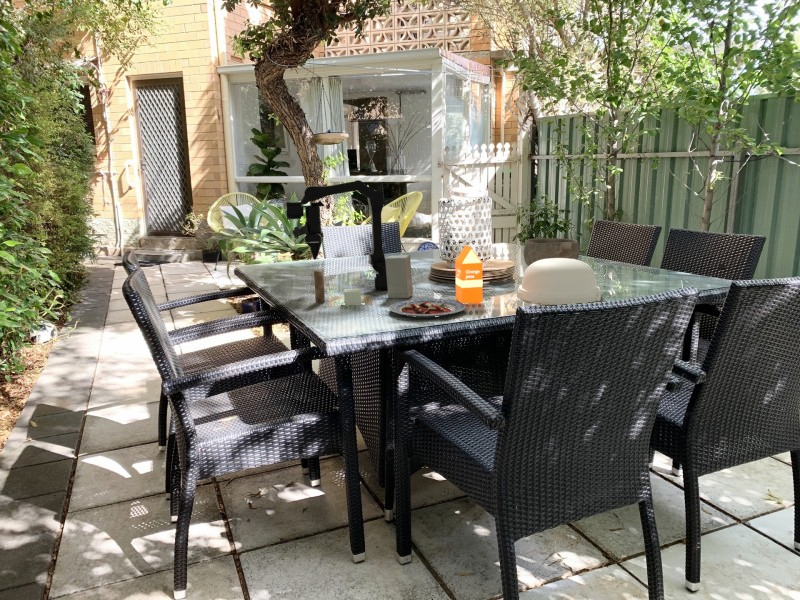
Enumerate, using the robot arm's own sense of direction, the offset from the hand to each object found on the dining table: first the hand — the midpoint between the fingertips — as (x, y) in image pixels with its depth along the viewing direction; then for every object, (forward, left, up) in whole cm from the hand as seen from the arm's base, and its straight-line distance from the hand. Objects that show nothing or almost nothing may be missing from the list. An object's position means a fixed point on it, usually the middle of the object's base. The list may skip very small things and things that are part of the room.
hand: (315, 257), depth 248 cm
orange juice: (-56, +30, -15) cm, 65 cm away
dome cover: (-90, +28, -15) cm, 95 cm away
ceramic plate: (-39, +44, -15) cm, 60 cm away
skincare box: (-32, +16, -15) cm, 38 cm away
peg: (-2, +21, -14) cm, 25 cm away
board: (-13, +20, -14) cm, 27 cm away
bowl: (-104, -23, -15) cm, 107 cm away
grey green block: (-14, +26, -14) cm, 32 cm away
